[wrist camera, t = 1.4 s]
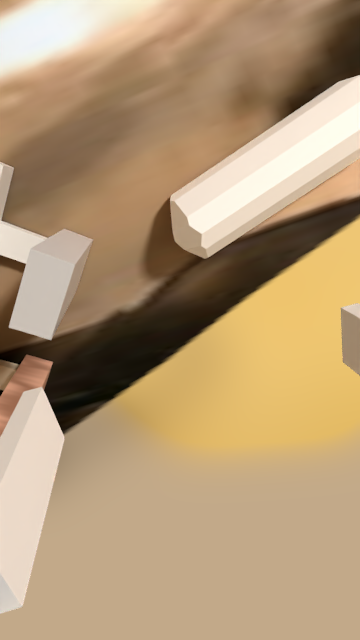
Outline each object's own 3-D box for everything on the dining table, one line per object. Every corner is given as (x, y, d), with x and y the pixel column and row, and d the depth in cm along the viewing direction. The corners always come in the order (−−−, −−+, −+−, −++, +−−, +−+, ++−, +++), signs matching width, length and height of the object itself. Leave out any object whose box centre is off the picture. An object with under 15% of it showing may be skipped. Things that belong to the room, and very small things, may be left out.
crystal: (204, 288, 36) (410, 155, 34) (177, 242, 30) (422, 79, 28) (177, 248, 40) (357, 129, 38) (149, 202, 34) (358, 60, 33)
